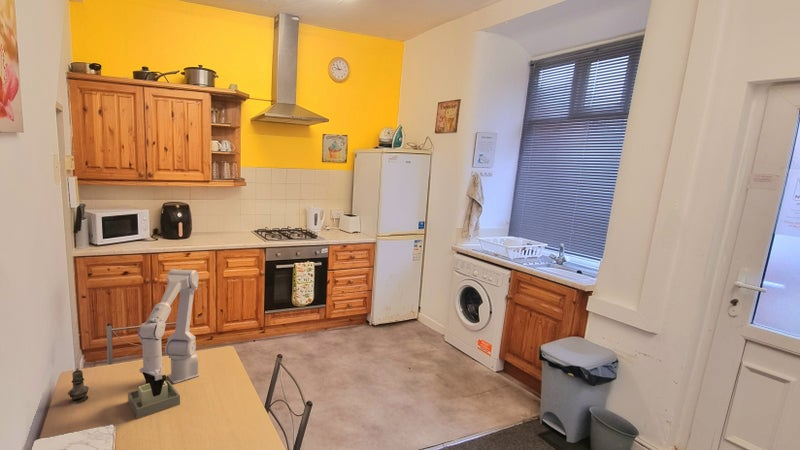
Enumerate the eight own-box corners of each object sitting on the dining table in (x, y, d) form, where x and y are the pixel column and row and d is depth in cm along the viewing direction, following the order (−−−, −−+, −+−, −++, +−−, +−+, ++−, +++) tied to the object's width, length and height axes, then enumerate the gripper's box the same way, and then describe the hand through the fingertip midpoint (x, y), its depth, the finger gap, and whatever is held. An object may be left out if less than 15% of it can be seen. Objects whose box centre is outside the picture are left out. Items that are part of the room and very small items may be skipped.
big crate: (168, 389, 154) (168, 380, 153) (180, 404, 145) (179, 395, 144) (128, 401, 145) (127, 392, 144) (137, 419, 135) (136, 409, 135)
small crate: (164, 394, 149) (163, 379, 148) (168, 400, 146) (167, 384, 145) (138, 402, 143) (138, 386, 143) (142, 408, 140) (141, 392, 139)
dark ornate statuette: (77, 405, 141) (75, 373, 139) (64, 402, 142) (62, 371, 141) (93, 396, 147) (91, 365, 145) (80, 394, 148) (78, 363, 146)
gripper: (134, 350, 144) (135, 386, 146) (144, 366, 134) (146, 403, 136) (156, 345, 149) (157, 379, 151) (168, 359, 139) (169, 396, 141)
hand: (153, 390), depth 144 cm, fingers open, 7 cm apart
